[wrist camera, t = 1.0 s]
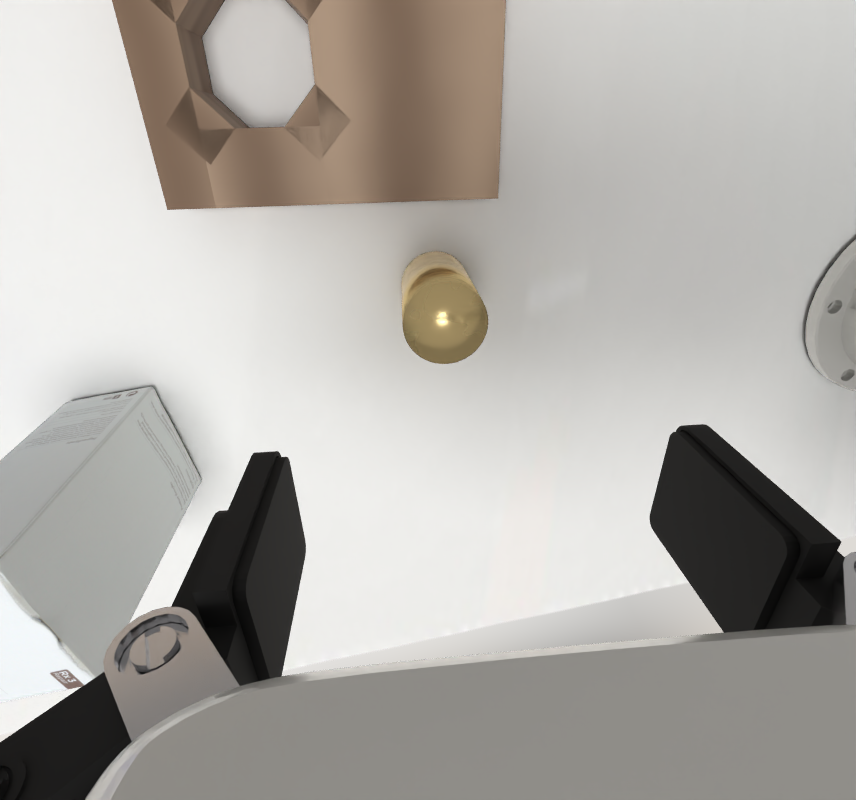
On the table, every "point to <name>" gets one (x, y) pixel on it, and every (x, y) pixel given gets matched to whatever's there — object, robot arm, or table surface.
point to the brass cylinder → (441, 309)
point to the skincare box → (84, 534)
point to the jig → (329, 106)
